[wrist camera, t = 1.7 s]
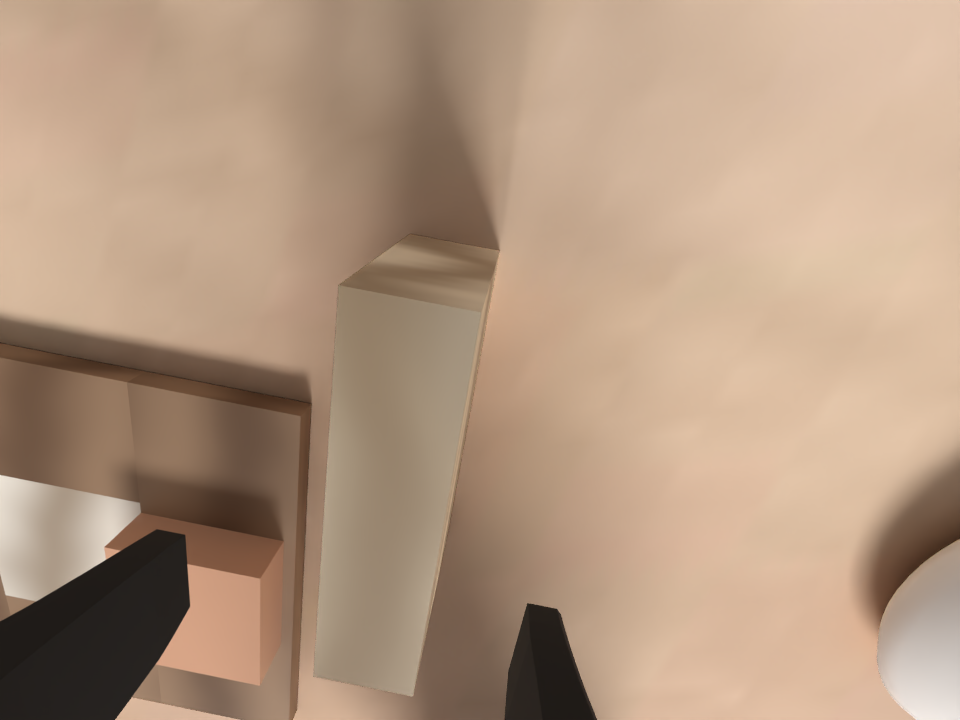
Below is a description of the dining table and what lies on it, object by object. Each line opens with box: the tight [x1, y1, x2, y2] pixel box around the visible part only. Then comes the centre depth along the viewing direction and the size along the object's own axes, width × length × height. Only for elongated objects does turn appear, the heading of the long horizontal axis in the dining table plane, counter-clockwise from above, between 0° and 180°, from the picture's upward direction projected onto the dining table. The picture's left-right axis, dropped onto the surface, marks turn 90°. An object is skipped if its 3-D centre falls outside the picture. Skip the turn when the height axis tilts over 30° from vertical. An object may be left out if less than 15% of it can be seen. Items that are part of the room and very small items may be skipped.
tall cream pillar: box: [313, 234, 500, 697], centre depth 16 cm, size 3×12×7 cm, turn 171°
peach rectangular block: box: [104, 513, 284, 686], centre depth 22 cm, size 6×6×2 cm
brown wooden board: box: [0, 343, 311, 720], centre depth 23 cm, size 15×18×1 cm
